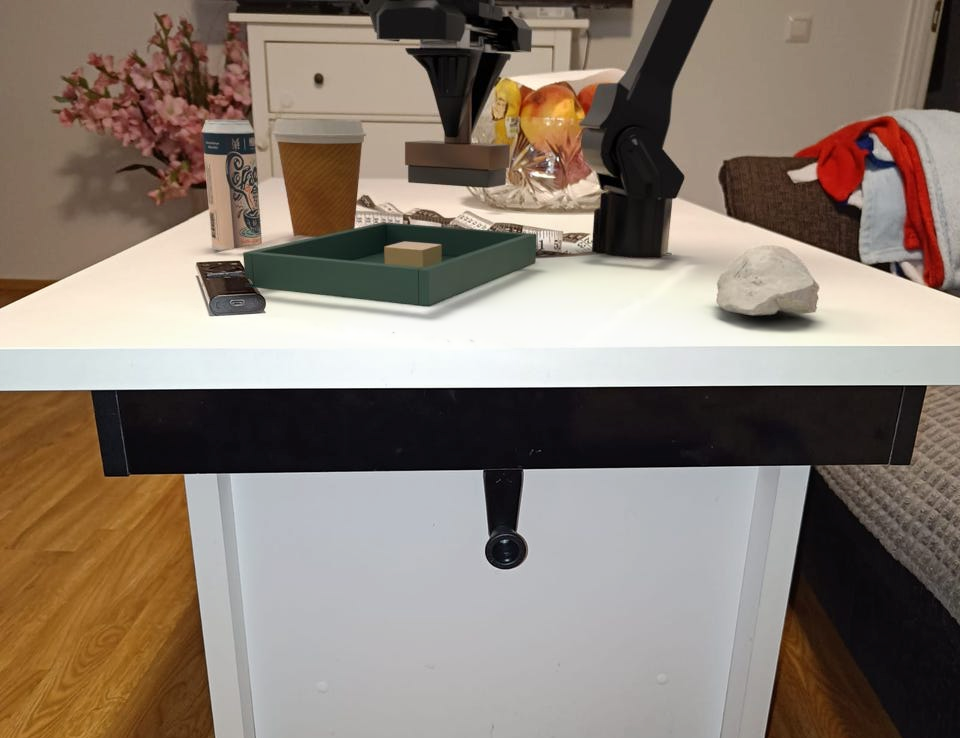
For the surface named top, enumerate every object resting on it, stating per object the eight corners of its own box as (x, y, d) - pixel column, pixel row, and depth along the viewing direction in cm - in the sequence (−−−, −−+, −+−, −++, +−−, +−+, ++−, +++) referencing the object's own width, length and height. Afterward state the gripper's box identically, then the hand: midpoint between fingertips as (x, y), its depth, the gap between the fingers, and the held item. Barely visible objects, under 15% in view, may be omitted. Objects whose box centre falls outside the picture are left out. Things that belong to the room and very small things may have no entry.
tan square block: (441, 268, 80) (441, 244, 79) (422, 274, 77) (422, 249, 76) (404, 264, 81) (404, 241, 80) (384, 270, 78) (384, 246, 77)
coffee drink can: (249, 255, 89) (239, 121, 84) (203, 253, 90) (191, 120, 85) (270, 248, 93) (261, 120, 88) (225, 246, 94) (215, 119, 89)
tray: (535, 271, 84) (536, 233, 83) (428, 317, 65) (428, 270, 64) (383, 257, 89) (382, 222, 88) (245, 296, 71) (242, 252, 70)
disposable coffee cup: (386, 238, 101) (384, 120, 96) (328, 249, 94) (323, 121, 89) (320, 231, 106) (315, 118, 101) (259, 240, 98) (251, 118, 94)
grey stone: (846, 322, 66) (858, 251, 65) (768, 334, 62) (779, 259, 61) (755, 300, 73) (763, 235, 71) (679, 310, 69) (686, 241, 67)
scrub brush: (508, 185, 85) (512, 83, 82) (489, 188, 81) (492, 82, 78) (427, 179, 88) (427, 82, 85) (404, 182, 84) (404, 80, 81)
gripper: (428, -45, 88) (427, 131, 94) (316, -79, 72) (323, 135, 78) (537, -49, 84) (529, 136, 90) (443, -86, 68) (441, 141, 74)
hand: (458, 136), depth 83 cm, fingers closed on scrub brush, 2 cm apart
